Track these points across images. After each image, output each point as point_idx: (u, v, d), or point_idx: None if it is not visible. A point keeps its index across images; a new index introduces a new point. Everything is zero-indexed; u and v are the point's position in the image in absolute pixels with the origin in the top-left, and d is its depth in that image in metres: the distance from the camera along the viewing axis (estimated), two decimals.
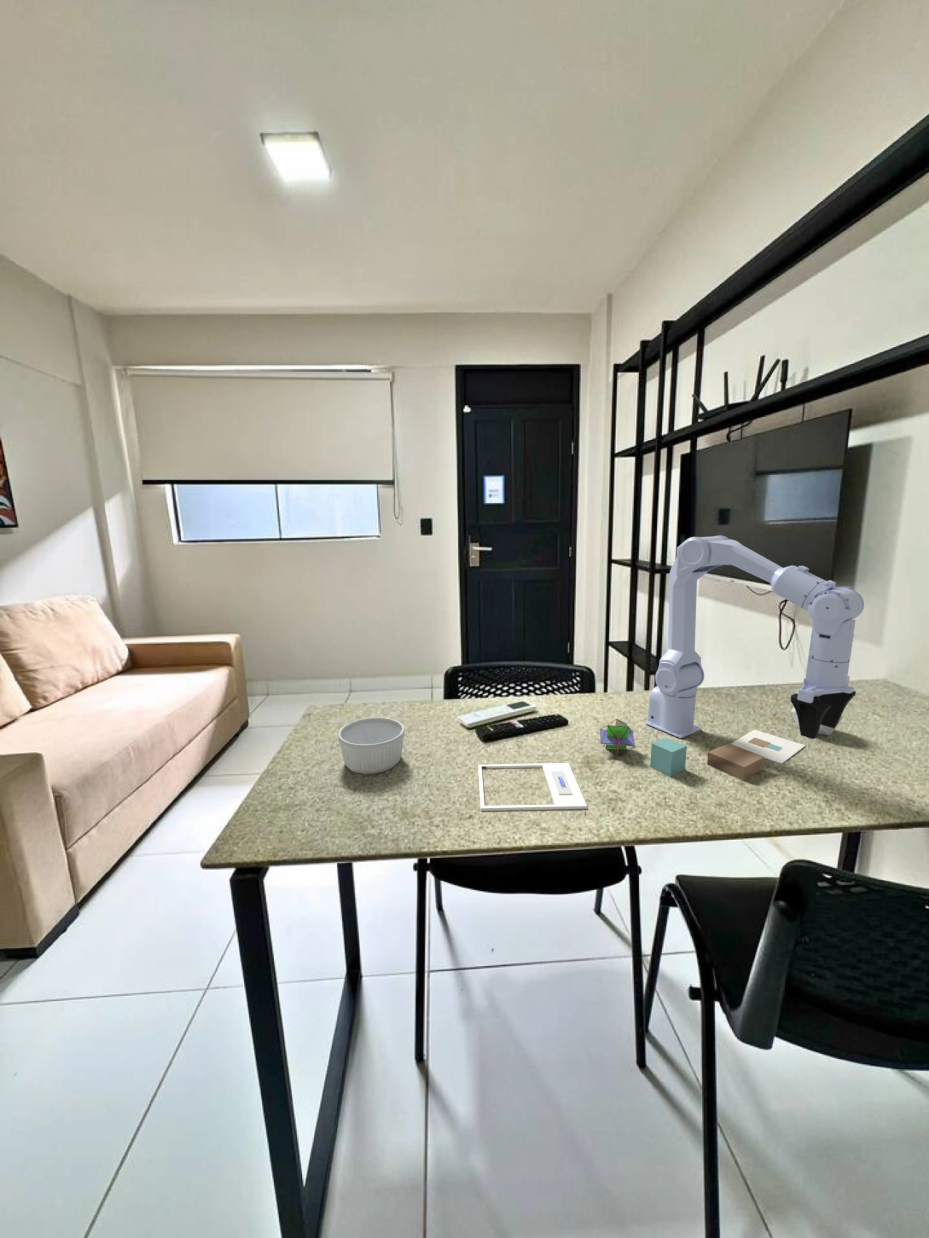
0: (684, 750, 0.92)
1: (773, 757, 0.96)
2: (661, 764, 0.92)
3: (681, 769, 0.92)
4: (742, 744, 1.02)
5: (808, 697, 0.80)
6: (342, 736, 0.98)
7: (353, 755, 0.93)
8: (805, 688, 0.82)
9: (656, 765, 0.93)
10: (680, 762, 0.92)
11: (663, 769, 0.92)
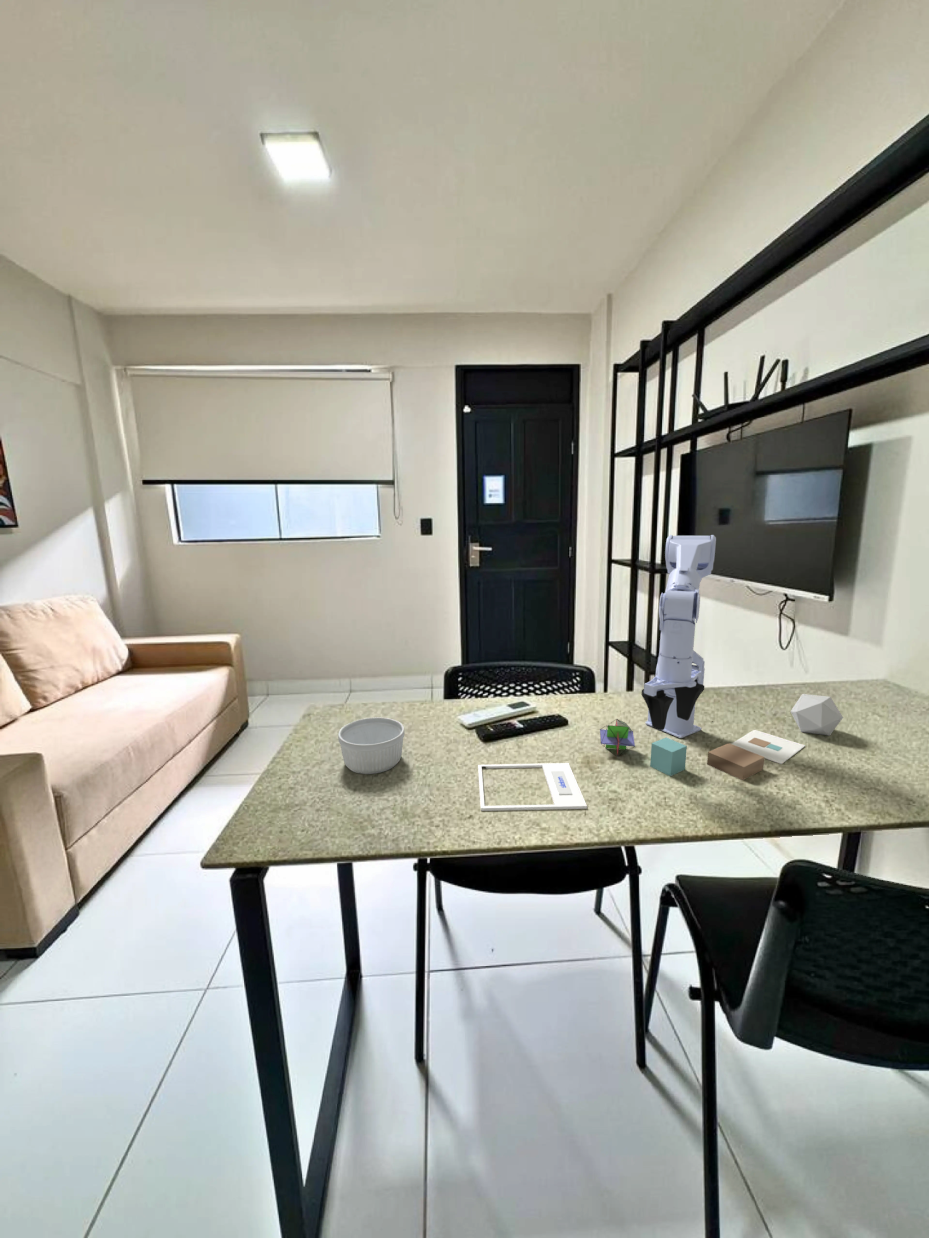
0: (684, 750, 0.92)
1: (773, 757, 0.96)
2: (661, 764, 0.92)
3: (681, 769, 0.92)
4: (742, 744, 1.02)
5: (651, 691, 0.86)
6: (342, 736, 0.98)
7: (353, 755, 0.93)
8: (652, 683, 0.88)
9: (656, 765, 0.93)
10: (680, 762, 0.92)
11: (663, 769, 0.92)
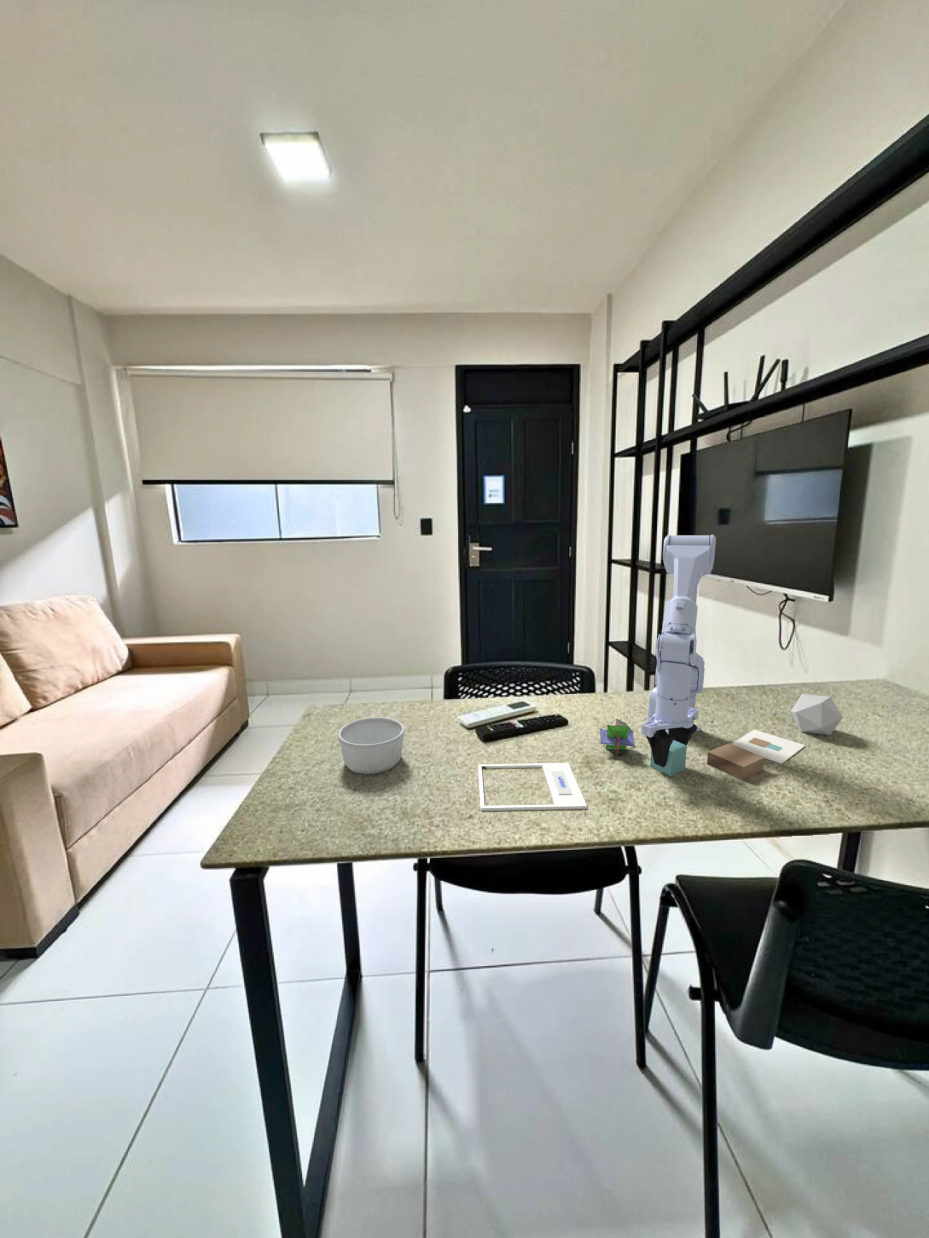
0: (684, 750, 0.92)
1: (773, 757, 0.96)
2: None
3: (681, 769, 0.92)
4: (742, 744, 1.02)
5: (648, 732, 0.88)
6: (342, 736, 0.98)
7: (353, 755, 0.93)
8: (650, 723, 0.90)
9: (656, 764, 0.93)
10: (680, 762, 0.92)
11: (663, 769, 0.92)
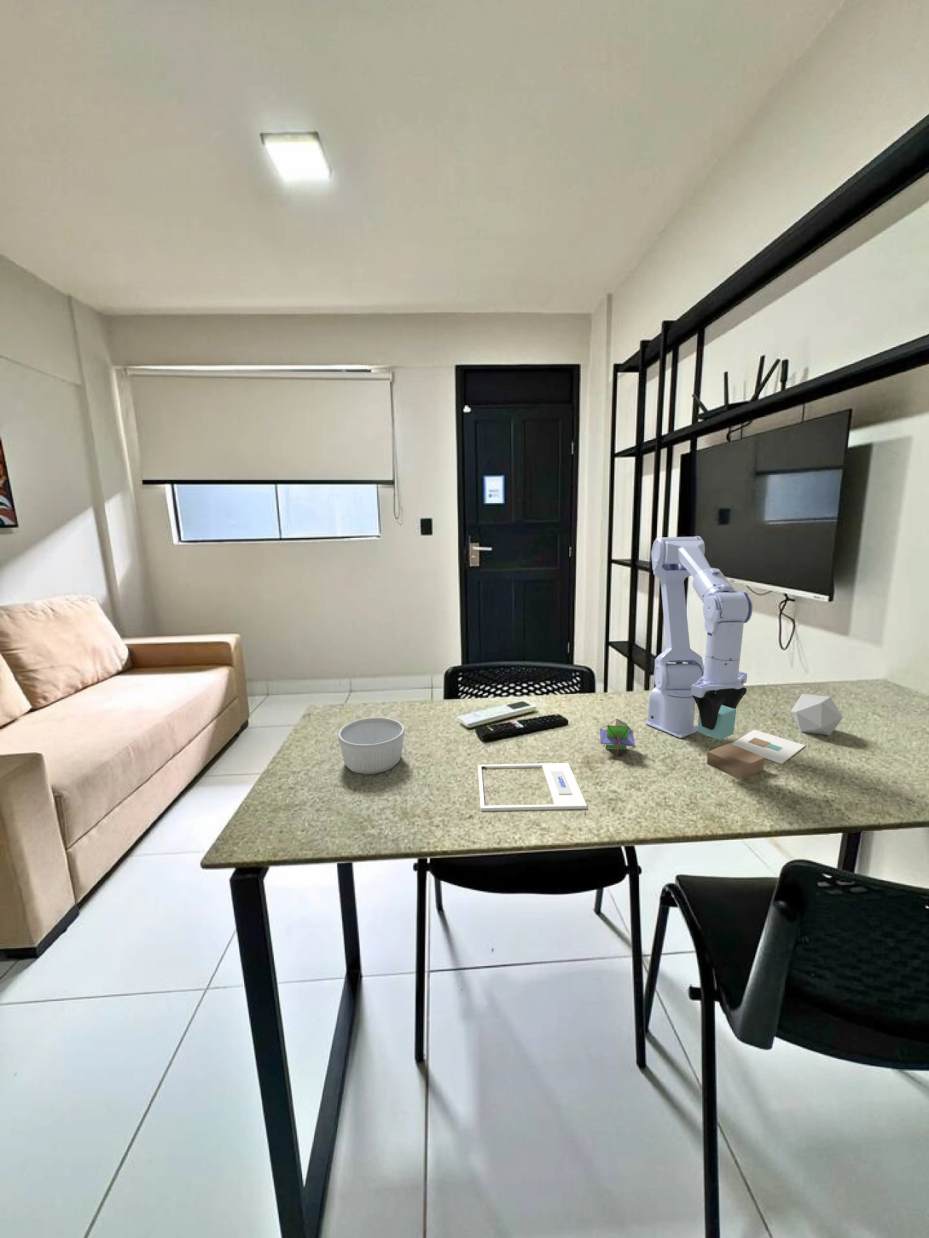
0: (733, 713, 0.90)
1: (773, 757, 0.96)
2: None
3: (730, 733, 0.91)
4: (742, 744, 1.02)
5: (699, 692, 0.86)
6: (342, 736, 0.98)
7: (353, 755, 0.93)
8: (699, 684, 0.88)
9: (704, 729, 0.92)
10: (729, 726, 0.90)
11: (712, 733, 0.90)
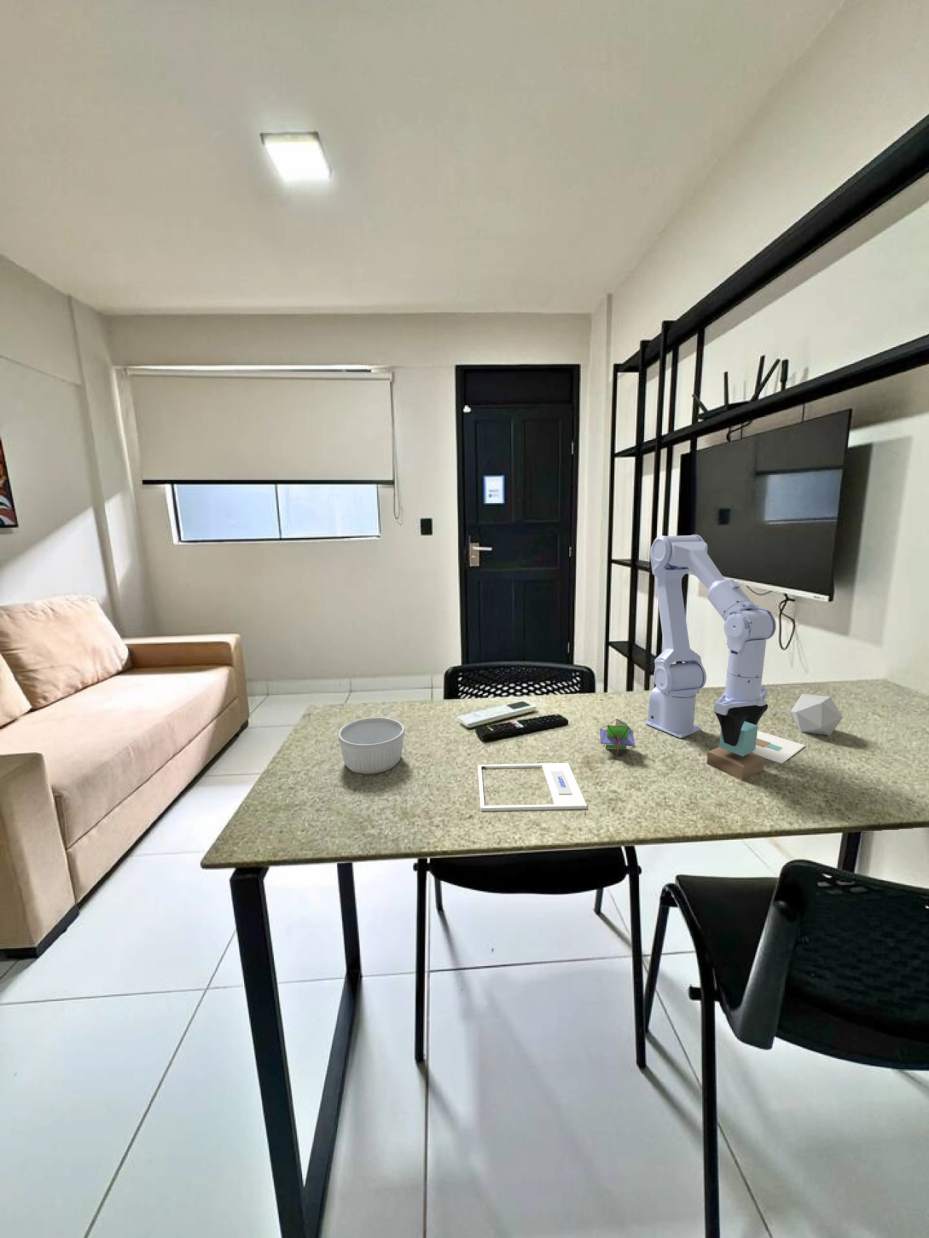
0: (755, 730, 0.91)
1: (773, 757, 0.96)
2: None
3: (752, 749, 0.91)
4: None
5: (722, 709, 0.87)
6: (342, 736, 0.98)
7: (353, 755, 0.93)
8: (722, 701, 0.89)
9: (726, 745, 0.92)
10: (751, 742, 0.91)
11: (734, 749, 0.91)
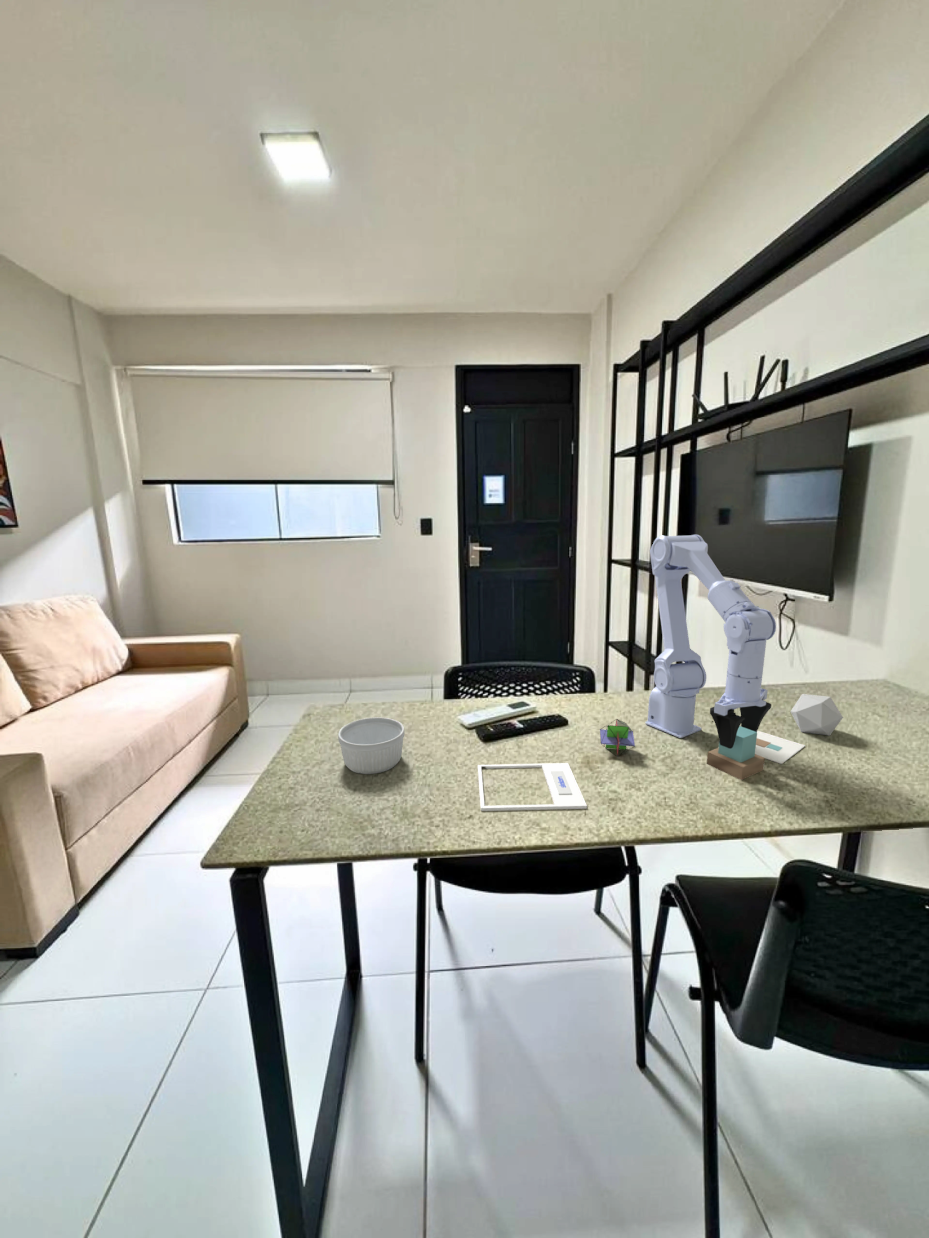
0: (754, 736, 0.91)
1: (773, 757, 0.96)
2: (731, 750, 0.92)
3: (751, 756, 0.92)
4: None
5: (722, 710, 0.87)
6: (342, 736, 0.98)
7: (353, 755, 0.93)
8: (722, 702, 0.89)
9: (725, 751, 0.93)
10: (750, 748, 0.91)
11: (733, 755, 0.91)
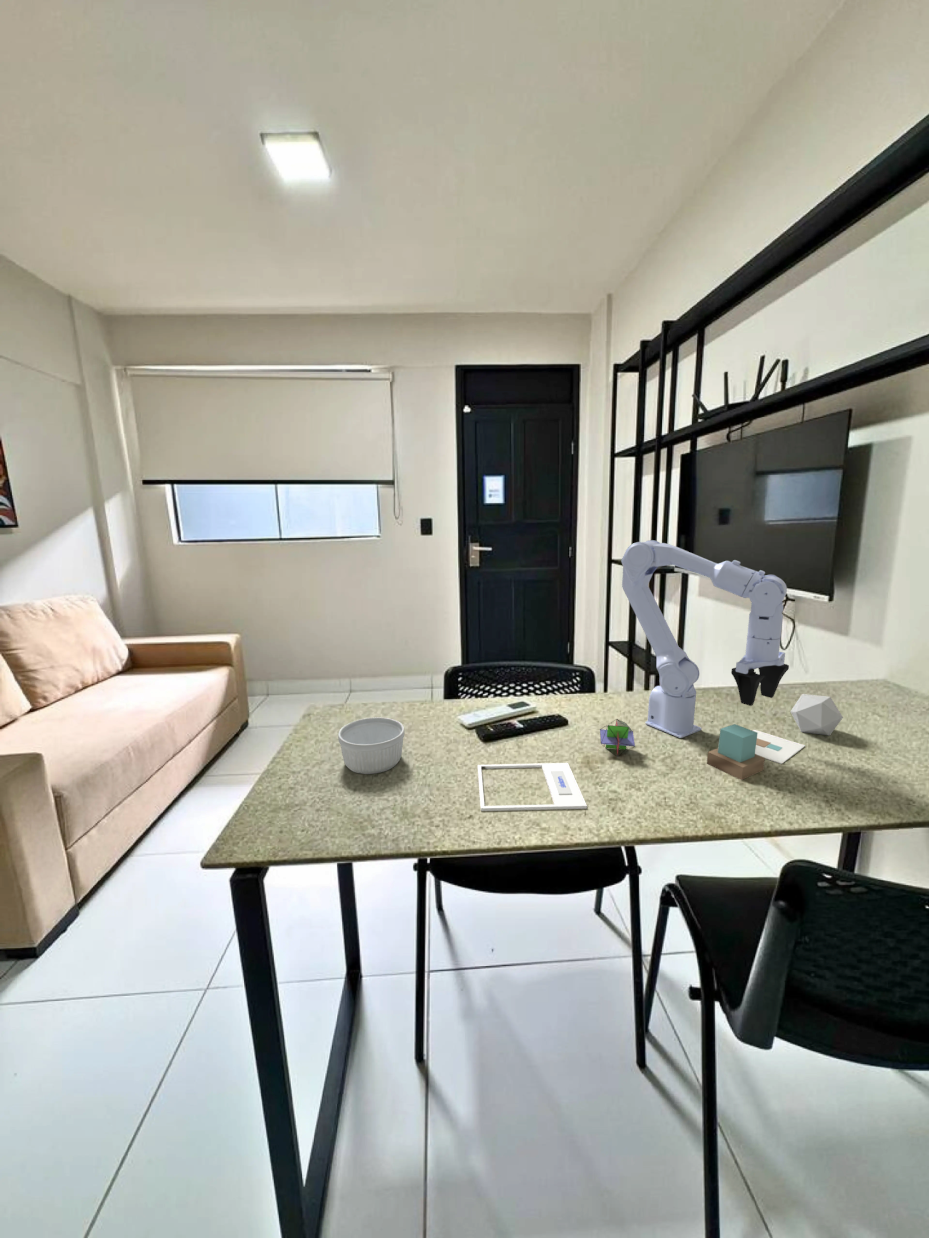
0: (755, 737, 0.91)
1: (773, 757, 0.96)
2: (730, 750, 0.92)
3: (751, 756, 0.92)
4: None
5: (743, 669, 0.94)
6: (342, 736, 0.98)
7: (353, 755, 0.93)
8: (743, 662, 0.96)
9: (725, 751, 0.93)
10: (750, 748, 0.91)
11: (732, 755, 0.91)
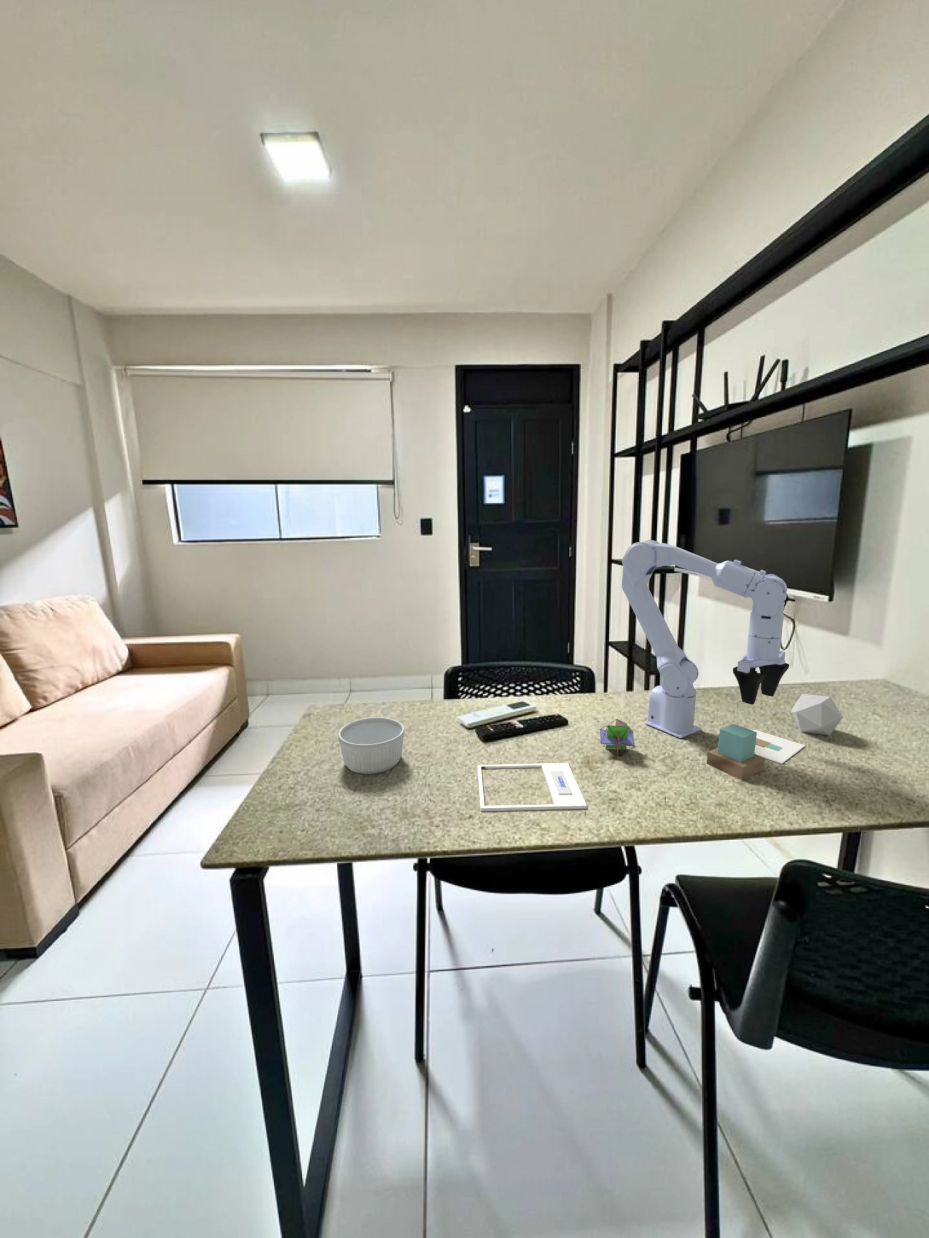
0: (754, 736, 0.91)
1: (773, 757, 0.96)
2: (730, 750, 0.92)
3: (750, 755, 0.92)
4: None
5: (745, 668, 0.94)
6: (342, 736, 0.98)
7: (353, 755, 0.93)
8: (744, 661, 0.97)
9: (724, 751, 0.93)
10: (750, 748, 0.91)
11: (732, 755, 0.91)
